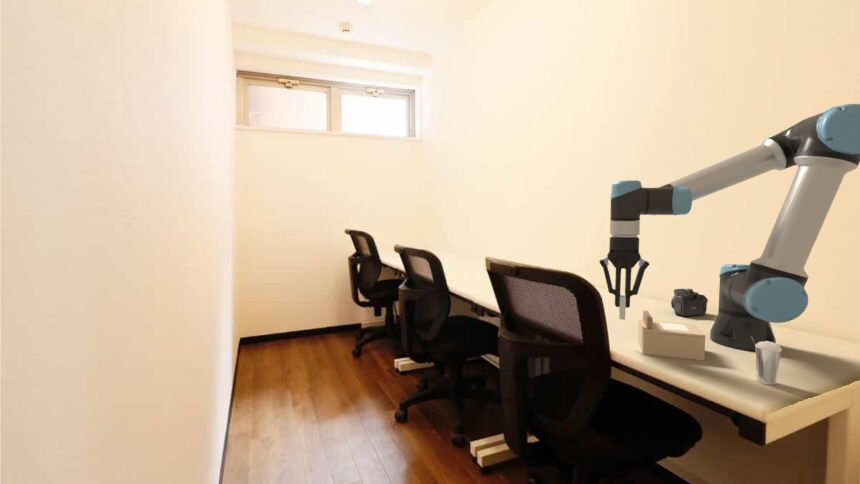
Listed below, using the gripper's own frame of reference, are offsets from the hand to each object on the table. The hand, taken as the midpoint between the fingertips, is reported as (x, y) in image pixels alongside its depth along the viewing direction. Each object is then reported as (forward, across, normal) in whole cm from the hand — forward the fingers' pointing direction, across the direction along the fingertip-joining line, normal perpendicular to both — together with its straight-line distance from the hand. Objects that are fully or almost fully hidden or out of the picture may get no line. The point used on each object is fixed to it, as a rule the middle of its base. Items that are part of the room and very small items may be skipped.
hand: (621, 318), depth 115 cm
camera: (+8, -26, -48) cm, 55 cm away
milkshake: (+8, -28, +16) cm, 33 cm away
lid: (+2, -12, 0) cm, 12 cm away
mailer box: (+8, -12, 0) cm, 15 cm away
